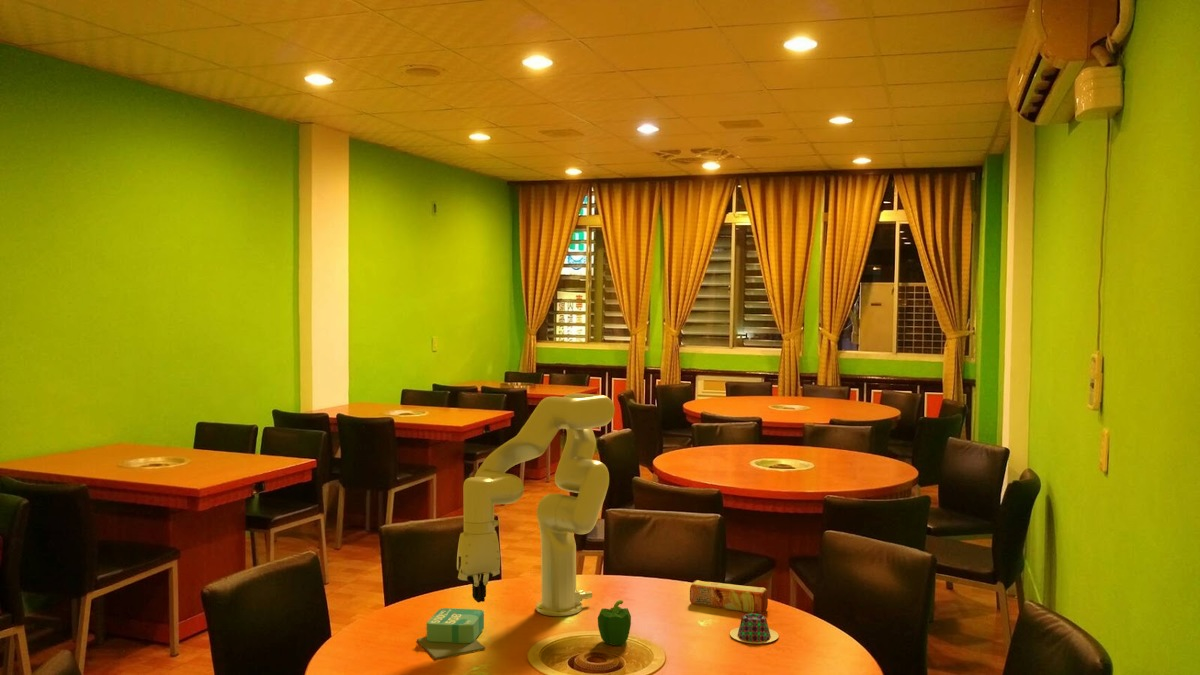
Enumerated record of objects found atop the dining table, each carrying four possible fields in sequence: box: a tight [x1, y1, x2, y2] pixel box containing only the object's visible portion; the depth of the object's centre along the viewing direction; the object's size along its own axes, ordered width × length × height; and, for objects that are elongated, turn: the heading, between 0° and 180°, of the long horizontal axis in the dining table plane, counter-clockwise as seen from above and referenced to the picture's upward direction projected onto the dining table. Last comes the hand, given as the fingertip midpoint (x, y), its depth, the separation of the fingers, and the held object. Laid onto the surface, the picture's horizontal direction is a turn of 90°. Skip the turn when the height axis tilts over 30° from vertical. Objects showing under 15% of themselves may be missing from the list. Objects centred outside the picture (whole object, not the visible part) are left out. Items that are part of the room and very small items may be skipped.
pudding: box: [729, 613, 780, 644], centre depth 223 cm, size 12×12×5 cm
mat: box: [416, 636, 486, 661], centre depth 219 cm, size 12×14×1 cm
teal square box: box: [426, 607, 485, 643], centre depth 225 cm, size 12×4×12 cm
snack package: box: [689, 579, 769, 616], centre depth 245 cm, size 21×7×7 cm, turn 62°
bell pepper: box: [597, 599, 632, 647], centre depth 220 cm, size 8×8×10 cm
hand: (479, 600), depth 222 cm, fingers closed
